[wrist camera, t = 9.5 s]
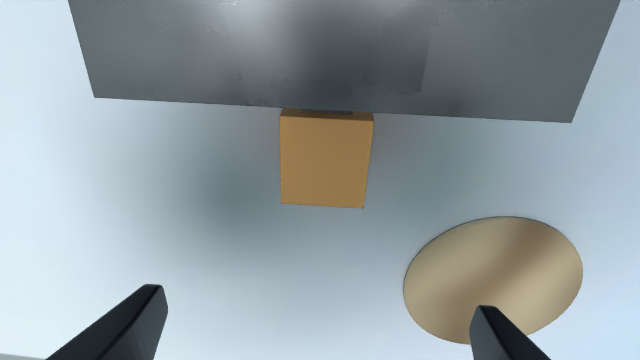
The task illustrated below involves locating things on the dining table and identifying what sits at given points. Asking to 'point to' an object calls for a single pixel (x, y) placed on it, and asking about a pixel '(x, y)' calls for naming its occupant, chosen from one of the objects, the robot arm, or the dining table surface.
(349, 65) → the grey notched block
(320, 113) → the tan block with bar
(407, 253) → the dining table surface
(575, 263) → the coaster
